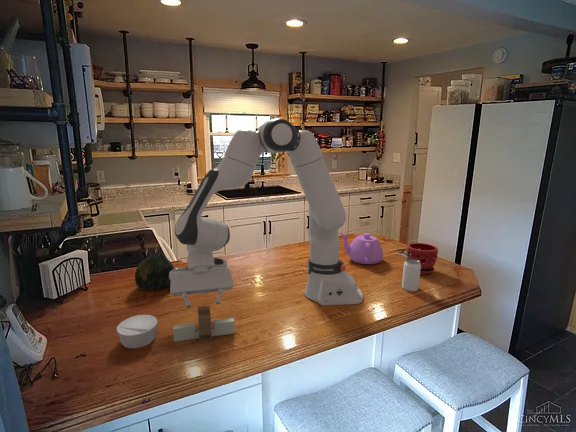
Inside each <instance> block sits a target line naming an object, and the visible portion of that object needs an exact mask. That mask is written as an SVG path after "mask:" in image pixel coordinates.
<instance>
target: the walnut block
mask: <svg viewBox="0 0 576 432" xmlns="http://www.w3.org/2000/svg"><path fill="white" fill-rule="evenodd" d="M197 317H198V318H197V319H198V321H197V322H198V328H199V338H198V339H199V343H206V342H212V338H213V336H212V337H211V327H212V317H211V307H210V305H204V306H203V305H202V306H197Z"/></svg>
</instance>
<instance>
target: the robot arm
mask: <svg viewBox="0 0 576 432" xmlns="http://www.w3.org/2000/svg"><path fill="white" fill-rule="evenodd" d="M284 152H285V153H286V154H287V155H288V156H289V158H290V159H291V162H292V165H293V169H294V171H295V174H296V176H297V180H298V181H299V184H300V187H301V190H302V192H303V194H304V196H305V198H306V201H307V204H308V221H309V222H308V223H309V224H308V225H309V239H310V240H309V258H308V261H307V273H308V275H307V281H306V286H305V289H304V292H303V294H304V296H305V297H306V298H307V299H308V300H311V301H314V302H316V304H319V305H321V306H337V305H338V306H340V305H359V304H361V303H362V302H363V299H364V298H363V293H362V290H361V289H360V288H359V287H358V285H357V284H358V283H357V282H356V279H355V278H354V276H353V275H351V274H350V273H348V272H347V271H346V265H345V264H344V262H343V260H342V259H339V258H340V256H339V255H340V236H339V235H340V234H339V229H341V228H342V227H343V226H344V224H345V222H346V220H347V214H346V210H345V207H344V205H343V203H342V199H341V197H340V196H339V195H340V194H339V193H338V191H337V188H336V186H335V184H334V181H333V179H332V177H331V175H330V171H329V170H328V166H327V164H326V161H325V157H324V154H323V152H322V150H321V147H320V145H319V143H318V141H317V139H316V137H315V136H314V134H313V133H312V132H311V131H310V130H307V129H300V130H299V129H298V128H297V127H295V126H294V125H293V124H292V123H291V122H290V121H289V120H287V119H285V118H281V117H277V118H272V119H270V120H268V121H267V120H266V121H265V122H264V123H263V124H262V125H260V126H259V127H258V128H257V129H256V130H255V131H253V130H251V129H246V128H245V129H244V128H243V129H239V130H237V131H235V133H234V134H233V136H232V138H231V140H230V142H229V143H228V145H227V147H226V149H225V153H224V155H223V157H222V160H221V161H220V163H219V164H218V165H217V166H216V167H215V168H212V169H210V170H209V171H207V172H206V174H205V175H204V176H203V178H202V180H201V182H200V183H199V185H198V186H197V188H196V191H195V192H194V194H193V196H192V198H191V199H190V201H189V202H188V205H187V206H186V208H185V209H184V211H183V213H182V214H181V215H180V216H179V218H178V219H177V221H176V222H175V226H174V235H175V237H176V239H177V240H178V241H179V242H180V243H181V244H182V245H186V246H185V247H186V250H187V257H186V262H187V266H185V267H183V266H182V267H175V268H174V270H171V271H170V273H169V279H170V281H171V284H170V285H169V286H170V288H169V289H170V294H171V296H173V297H178V296H181V297H182V300H183V301H184V303H185V308H186V309H187V308H192V306H191V300H188V299H187V296H188V295H195V294H196V295H197V294H207V293H215V292H218V296H217V297H215V305H220V304H221V303H222V300H221V298H222V297H223V294H224V292H225V291H231V290H232V288H233V286H234V280H233V276H232V272H231V270H230V268H229V267H228V262H227V259H225V258H220V257H215V256H214V255H213V253H214V252H217V251H219V250H221V249H223V248H224V247H225V246H226V245H228V243H229V242H230V239H231V231H230V227H229V225H228V224H227V223H226V222H223V221H221V220H217V219H213V218H212V219H211V218H208V217H205V216H202V214H203V212H204V211H205V209H206V207H207V205H208V204H209V202H210V200H211V198H212V197H213V195H214V194H216V193H218V192H220V191H223V190H228V189H229V190H230V189H239V188H241V187H243V186H245V185H247V184H248V183H249V182H250V181H251V179H252V177H253V175H254V171H255V169H256V166H257V164H258V160H259V158H260V156H261V155H262V154H263V153H266V154H267V153H268V154H279V153H284Z"/></svg>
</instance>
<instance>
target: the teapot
mask: <svg viewBox="0 0 576 432" xmlns="http://www.w3.org/2000/svg"><path fill="white" fill-rule="evenodd" d="M339 235H341V236H342V237H343V238H342V239H343V249H344V251H345V252H346V253H347V256H348V257H349V258H350V260H351V261H352V262H354V263H356V264H357V263H358V264H362V265H375V264H378V263H380V262H381V261H382V260H383V258H384V250H383V246H382V245H381V243H380V241H379V240H378V238H377V237H375V236H373V235H372V234H371V233H367V232H364V233H363V234H360V235H357V236H356V237H355V238H354V239H353V240H352V241H351V243H350V244H349V243H348V242H349V241H348V236H347V235H346V234H345V233H343V232H339Z"/></svg>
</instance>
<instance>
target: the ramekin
mask: <svg viewBox="0 0 576 432" xmlns="http://www.w3.org/2000/svg"><path fill="white" fill-rule="evenodd" d="M158 325H159V323H158V319H157V317H156V316H153V315H150V314H137V315H134V316H131V317H129V318H126V319H124V320H122V321H121V322H120V323H119V324H118V325H117V326H116V334H117V335H118V338H119V340H120V343H121V345H122V346H124V347H125V348H127V349H139V348H144V347H146V346H148V345H150V344H151V343H152V342H153V341H154V339H155V338H156V337H157V329H158V328H157V327H158Z"/></svg>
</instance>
